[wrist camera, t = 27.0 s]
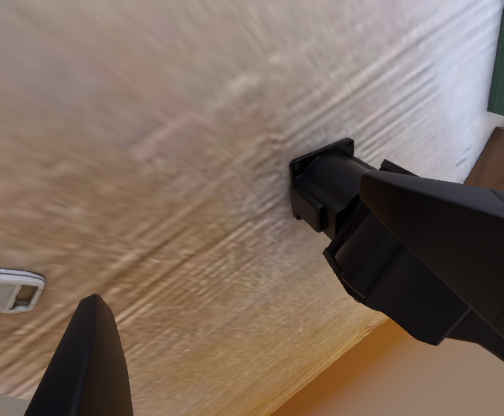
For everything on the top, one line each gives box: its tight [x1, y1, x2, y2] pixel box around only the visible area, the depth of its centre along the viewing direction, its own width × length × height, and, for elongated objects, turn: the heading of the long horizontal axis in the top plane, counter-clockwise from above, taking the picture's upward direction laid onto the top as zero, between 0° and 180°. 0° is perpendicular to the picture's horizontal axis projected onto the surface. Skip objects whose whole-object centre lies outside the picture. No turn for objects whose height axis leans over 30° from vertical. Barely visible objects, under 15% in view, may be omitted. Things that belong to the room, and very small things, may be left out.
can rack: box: [464, 127, 504, 191], centre depth 43 cm, size 11×21×4 cm, turn 170°
